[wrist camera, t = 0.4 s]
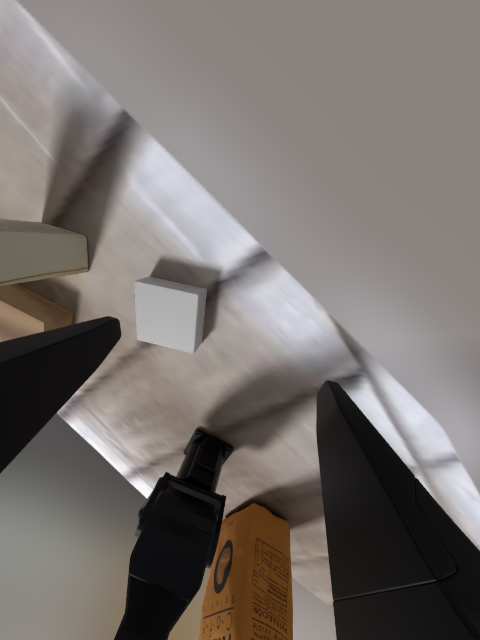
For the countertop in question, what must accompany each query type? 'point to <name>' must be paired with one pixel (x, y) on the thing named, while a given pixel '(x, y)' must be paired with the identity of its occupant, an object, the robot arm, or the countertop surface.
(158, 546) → the robot arm
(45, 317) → the brown flat block
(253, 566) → the coffee package
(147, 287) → the grey block
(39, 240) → the skincare box
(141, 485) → the countertop surface
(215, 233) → the countertop surface
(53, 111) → the countertop surface
